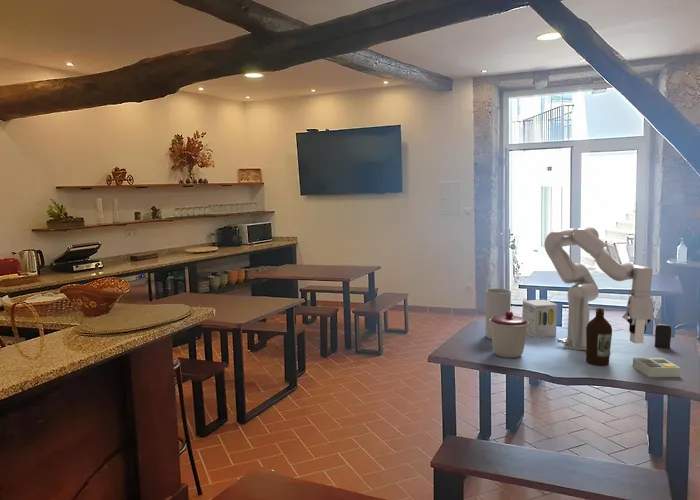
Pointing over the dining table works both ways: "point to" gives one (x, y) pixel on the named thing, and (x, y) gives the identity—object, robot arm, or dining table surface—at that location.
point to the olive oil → (598, 340)
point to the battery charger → (663, 335)
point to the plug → (638, 331)
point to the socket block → (656, 367)
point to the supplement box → (540, 318)
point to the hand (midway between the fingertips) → (637, 332)
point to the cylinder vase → (496, 306)
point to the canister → (508, 334)
